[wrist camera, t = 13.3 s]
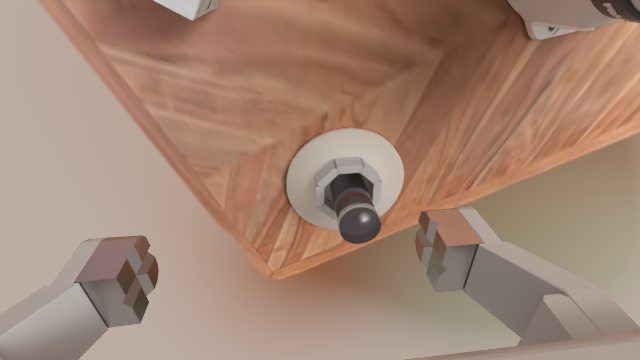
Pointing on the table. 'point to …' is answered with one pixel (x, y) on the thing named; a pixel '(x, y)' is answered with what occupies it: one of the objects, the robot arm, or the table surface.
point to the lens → (354, 208)
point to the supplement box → (190, 7)
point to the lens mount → (342, 172)
